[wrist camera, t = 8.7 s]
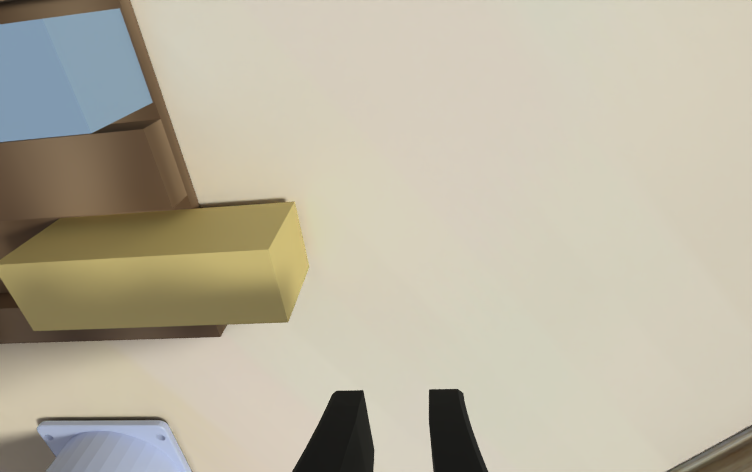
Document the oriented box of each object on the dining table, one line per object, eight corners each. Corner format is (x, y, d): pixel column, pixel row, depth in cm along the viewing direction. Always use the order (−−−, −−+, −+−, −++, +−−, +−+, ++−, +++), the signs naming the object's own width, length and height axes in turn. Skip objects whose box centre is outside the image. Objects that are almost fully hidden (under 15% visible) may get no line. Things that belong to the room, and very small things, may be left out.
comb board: (100, -89, 14) (14, -103, 11) (235, 310, 22) (205, 364, 19) (-224, -35, 16) (-373, -36, 13) (7, 319, 23) (-53, 369, 20)
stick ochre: (294, 201, 18) (268, 249, 15) (309, 266, 19) (288, 322, 16) (60, 218, 19) (-8, 265, 16) (90, 277, 21) (33, 330, 18)
